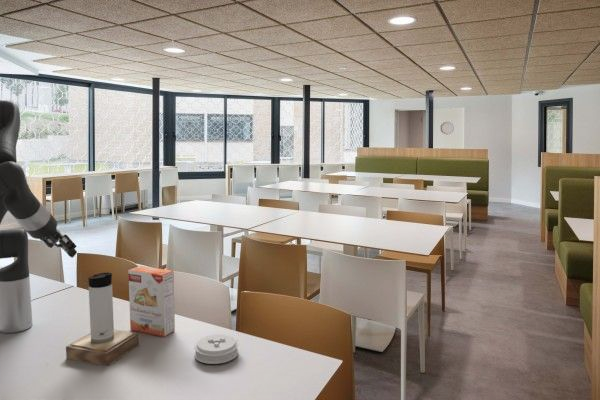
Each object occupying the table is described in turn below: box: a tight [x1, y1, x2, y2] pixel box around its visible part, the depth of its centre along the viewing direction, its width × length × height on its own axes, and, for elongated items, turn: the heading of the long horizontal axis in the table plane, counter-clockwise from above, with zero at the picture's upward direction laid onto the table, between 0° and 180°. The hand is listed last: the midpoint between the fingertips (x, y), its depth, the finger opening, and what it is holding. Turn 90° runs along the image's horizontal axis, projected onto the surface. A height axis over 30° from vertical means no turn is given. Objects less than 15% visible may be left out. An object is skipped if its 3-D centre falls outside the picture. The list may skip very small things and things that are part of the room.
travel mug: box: [87, 272, 115, 343], centre depth 131 cm, size 6×7×20 cm
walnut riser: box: [65, 329, 140, 367], centre depth 133 cm, size 14×14×4 cm
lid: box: [194, 334, 239, 365], centre depth 131 cm, size 13×13×5 cm
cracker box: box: [127, 265, 176, 338], centre depth 146 cm, size 14×6×21 cm, turn 68°
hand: (63, 250), depth 134 cm, fingers open, 8 cm apart
